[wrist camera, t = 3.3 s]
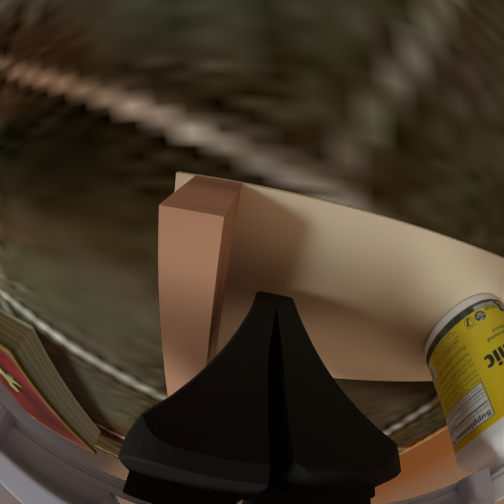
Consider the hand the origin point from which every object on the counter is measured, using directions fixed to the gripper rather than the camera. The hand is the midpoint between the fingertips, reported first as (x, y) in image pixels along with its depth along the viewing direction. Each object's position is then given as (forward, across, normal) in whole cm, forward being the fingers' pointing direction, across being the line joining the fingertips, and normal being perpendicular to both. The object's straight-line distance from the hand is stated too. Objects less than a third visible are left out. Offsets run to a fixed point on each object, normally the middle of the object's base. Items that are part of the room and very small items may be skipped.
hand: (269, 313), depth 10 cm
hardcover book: (+2, +22, +19) cm, 29 cm away
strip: (+1, -6, 0) cm, 6 cm away
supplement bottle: (+1, -11, 0) cm, 11 cm away
